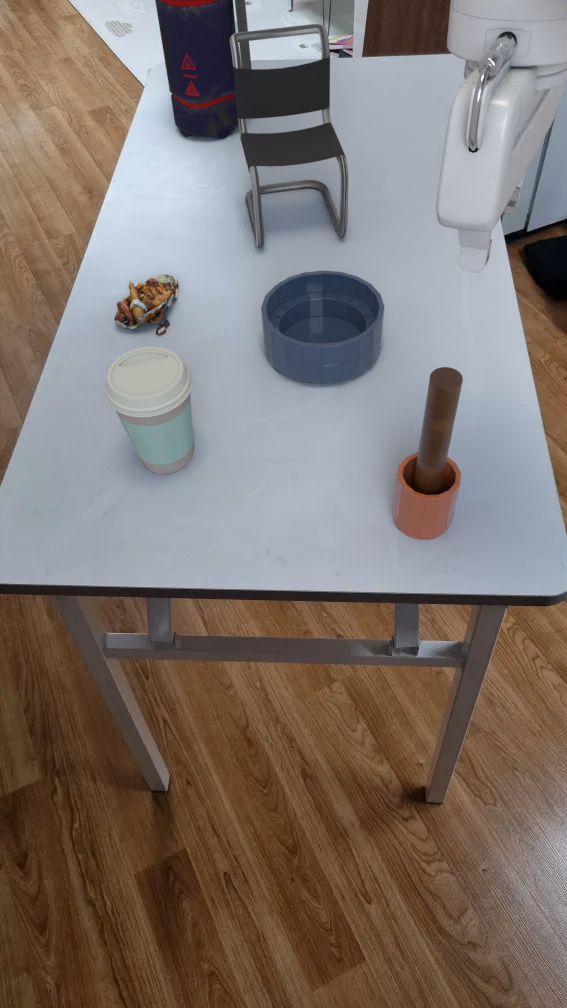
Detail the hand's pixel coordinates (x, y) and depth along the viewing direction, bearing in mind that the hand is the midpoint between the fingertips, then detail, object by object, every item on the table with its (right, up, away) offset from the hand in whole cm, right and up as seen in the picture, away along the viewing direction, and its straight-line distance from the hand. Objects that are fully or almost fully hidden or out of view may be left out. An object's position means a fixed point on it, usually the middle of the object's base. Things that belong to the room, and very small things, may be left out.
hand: (489, 237), depth 53 cm
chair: (-14, +23, +54) cm, 60 cm away
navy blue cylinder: (-27, +46, +73) cm, 90 cm away
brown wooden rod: (-1, -21, +19) cm, 28 cm away
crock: (-1, -21, +19) cm, 28 cm away
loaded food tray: (-33, +7, +43) cm, 54 cm away
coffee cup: (-28, -14, +26) cm, 41 cm away
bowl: (-10, 0, +36) cm, 37 cm away
